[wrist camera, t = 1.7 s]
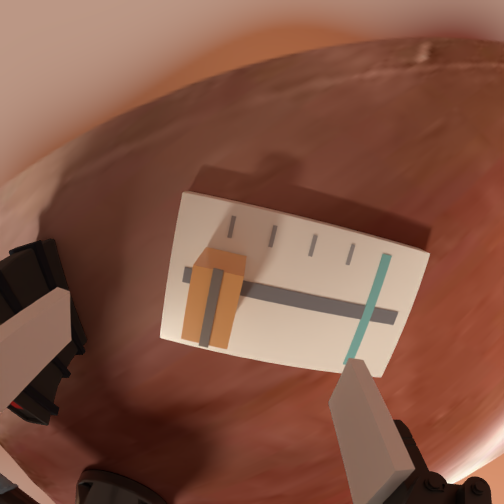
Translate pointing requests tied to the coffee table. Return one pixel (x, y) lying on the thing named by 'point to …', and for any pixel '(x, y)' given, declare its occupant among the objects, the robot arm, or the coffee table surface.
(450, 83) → the coffee table surface
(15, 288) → the magazine
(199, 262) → the fader tab
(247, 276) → the fader console
